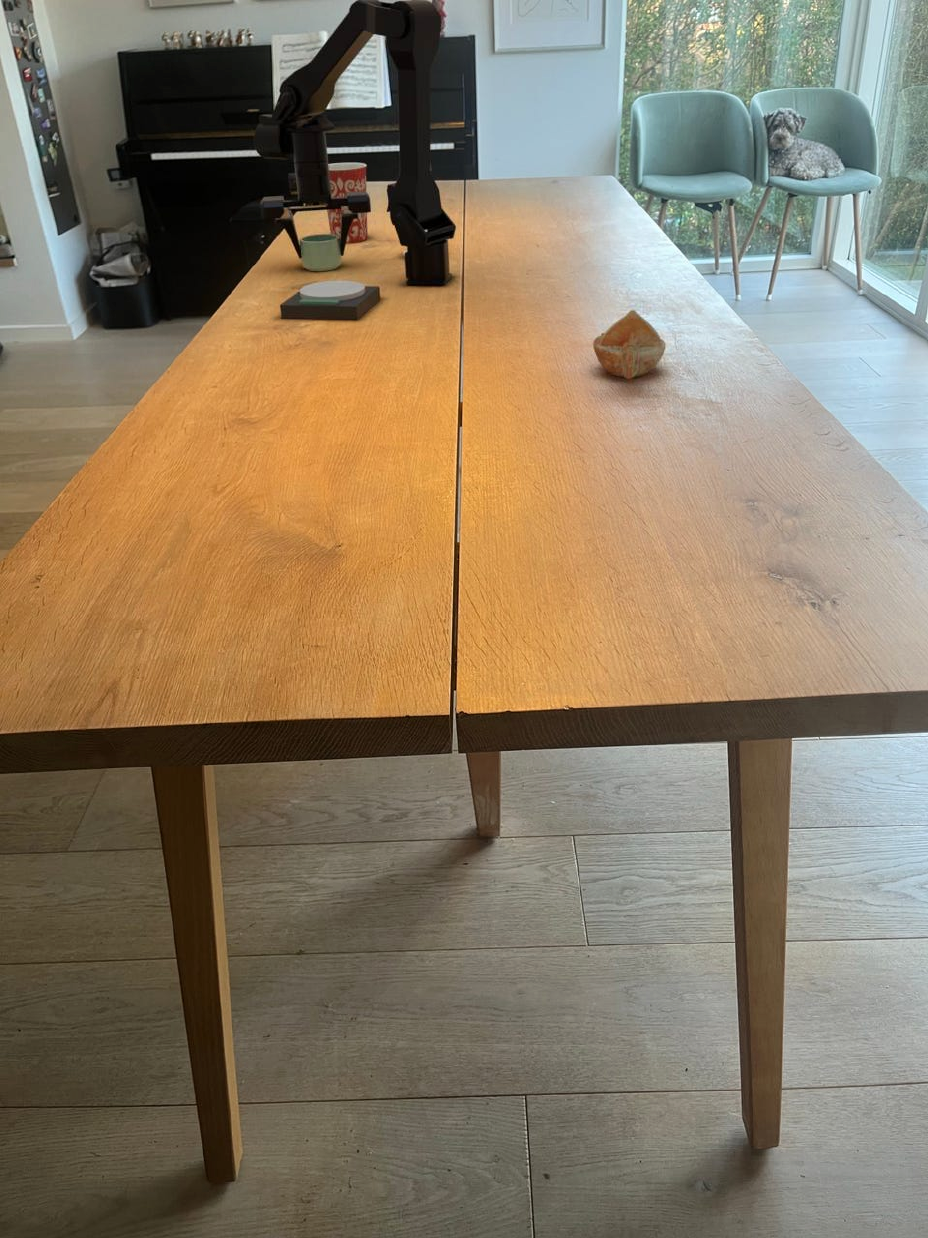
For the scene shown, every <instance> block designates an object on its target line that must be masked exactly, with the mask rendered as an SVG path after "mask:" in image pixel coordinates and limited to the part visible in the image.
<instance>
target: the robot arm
mask: <svg viewBox="0 0 928 1238" xmlns="http://www.w3.org/2000/svg"><path fill="white" fill-rule="evenodd" d="M441 30H442V15H441V13H440V10H438V9H437V7H436V6H435V4H434V3H432V2H431V1H430V0H398V1H394V2H386V1H380V0H355V1H354V2H353V3H351V5H350V7H349V8H348V12H347V14H346V15H345V16H344V18H342V21H340V23H339V24H338V25H337V26H336V28H335V30H333V32H332V33H331V34H330V36H329V37H328V38H327V40H326V41H325V43H324V44H323V45H322V46H321V47H320V49H319V50H318V52H317V53H316V54H315V56H313V58H312V59H311V60H310V61H309V62H307V64H305V65H303V66H301V67H299V68H298V69H296V70H295V71H293V72H292V73H291V74H290V75H288V76H287V77H286V78H285V79H284V80H283V81H282V82H281V83H280V86H279V95H278V98H277V101H276V103H275V106H274V109H273V111H272V114H261V115H259V123H258V125H257V126H256V128H255V130H254V134H253V135H254V136H253V139H252V141H253V145H254V149H255V151H256V153H257V154H258V156H260V157H261V158H263V159H274V160H290V161H291V160H293V163H294V172H291V173H290V172H289V173H288V176H287V177H288V184H289V192H290V195H297V199H295V200H293V199H292V200H285V198H284V195H276V196H263V198H262V199H261V200H260V205H259V206H260V215H261V219H262V220H273V219H274V222H275V224H276V225H282V227H283V229H284V230H285V232H286V234H287V235H288V237H289V240H290V241H291V243H292V245H293V247H294V250H295V253H296V254H297V257H298V259H299V260H300V259H301V260H302V257H301V249H300V241H299V236H298V232H297V228H296V223H295V219H294V214H293V213H298V212H299V213H300V212H315V211H327V210H332V209H341V210H342V211H341V231H340V249H341V257H343V256H345V255H344V254H345V250H346V245H347V243H346V241H347V236H348V232H349V229H350V226H351V224H352V221H353V219H357V218H359V216H358V213H367V214H368V213H371V212H372V205H371V197H370V194H369V193H368V192H366V191H367V190H366V191H354V192H346V197H340V198H332V193H331V183H330V176H329V166H328V164H329V155H328V148H327V137H326V132H332V131H335V130H336V126H335V125H334V124H333V123H332V122H331V121H330V120H328V118H327V117H326V115H325V114H323V113H324V112H325V111H326V110H327V108H328V107H329V105H330V103H331V101H332V99H333V97H334V95H335V88H336V84H337V82H338V80H339V79H340V78H341V76H342V75H343V73H344V72H345V71H346V70H347V69H348V67H349V66H350V65H351V64H352V62H353V61H354V60H355V59H356V57H357V56H358V55H359V54H360V53H361V51H362V50H363V49H364V48H365V46H366V45H367V44H368V43H369V42H370V40H371V39H372V38H373V37H374V35H377V36H381V37H385V41H386V47H387V51H388V53H389V55H390V58H391V60H392V62H393V64H394V66H395V68H396V72H397V75H396V76H397V102H398V103H397V106H398V107H397V108H398V109H397V111H398V112H397V113H398V147H399V148H398V150H399V174H398V176H397V179H396V182H393V183H389V184H387V187H386V194H387V195H386V196H387V206H386V207H387V208H386V212H387V213H389V218H390V222H391V225H392V226H394V229H395V231H396V235H397V238H398V241H399V244H400V246H401V247H406V250H407V252H406V253H405V254H404V253H403V257H404V256H405V257H404V271H405V278H406V282H405V284H406V285H411V286H412V285H414V286H443V285H446V284H447V283H448V282H449V281H450V279H452V278H453V273H451V272H450V254H449V240H452V239H454V237H455V234H456V230H457V226H456V224H455V223H454V222H453V220H452V219H451V218H450V216H449V215H448V213H446V211H445V210H444V209H443V207H442V200H441V194H440V188H439V186H438V184H437V182H436V180H435V178H434V176H433V174H432V157H431V156H432V155H431V153H432V152H431V151H432V150H431V68H432V66H433V63H434V61H435V59H436V57H437V53H438V51H439V49H440V40H441V39H440V38H441V32H442V31H441ZM327 204H328V205H327ZM425 230H427V232H425Z"/></svg>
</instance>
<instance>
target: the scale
mask: <svg viewBox="0 0 928 1238" xmlns="http://www.w3.org/2000/svg"><path fill="white" fill-rule="evenodd" d="M380 300H381V289H380V286H378V285H377V286H375V285H365V284H364V283H362V282H359V281H352V280H328V281H327V280H326V281H319V282H314V283H309V284H307V285H305V286H303V287H301V288H300V289H299V291H297V292H296V293H294V294H293V295H291V296H290V297H288V298H287V299H286V300H285V301H283V302H282V303H280V304H279V309H280V316H281V319H298V320H299V319H300V320H301V319H302V320H338V321H339V320H343V321H344V320H345V321H358V320H359V319H360V318H361V317H362V316H364V315H365V314H366V313H367V312H369V310H370V309H371V308H373V306H375V304H377V303H378V302H379V301H380Z"/></svg>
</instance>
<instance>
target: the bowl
mask: <svg viewBox="0 0 928 1238" xmlns="http://www.w3.org/2000/svg"><path fill="white" fill-rule="evenodd" d="M298 240H299V244H300V249H301V257H302V258H301V265H302V268H305V269H306V270H307V271H311V272H326V271H332V270H337V269H338V268H339V267H340V266H341V265H342V264H343V258H342V256H341V249H340V238H339V236H337V235H333V234H331V233H318V234H309V235H305V236H302V237H300V238H298Z"/></svg>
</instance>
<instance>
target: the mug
mask: <svg viewBox="0 0 928 1238" xmlns="http://www.w3.org/2000/svg"><path fill="white" fill-rule="evenodd" d="M328 166H329V176H330V183H331V193H332V198H340V197H346V192H354V191H366V192H367V167H368V165H367V164H366V163H364V162H336V163H328ZM367 193H368V192H367ZM327 205H328V204H327ZM341 211H342V210H341V209H332V210H326V212H327V220H328V225H329V234H333V235H337V236H339V238H340V231H341ZM358 216H359V218H357V219H353V221H352V224H351V226H350V229H349V232H348V236H347V241H346V244H351V243H359V242H363V241H366V240H367V239H368V237H369V235H368V234H369V231H368V229H369V228H368V213H358Z"/></svg>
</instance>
